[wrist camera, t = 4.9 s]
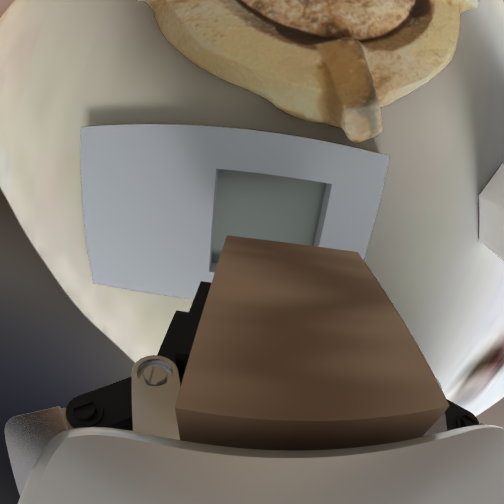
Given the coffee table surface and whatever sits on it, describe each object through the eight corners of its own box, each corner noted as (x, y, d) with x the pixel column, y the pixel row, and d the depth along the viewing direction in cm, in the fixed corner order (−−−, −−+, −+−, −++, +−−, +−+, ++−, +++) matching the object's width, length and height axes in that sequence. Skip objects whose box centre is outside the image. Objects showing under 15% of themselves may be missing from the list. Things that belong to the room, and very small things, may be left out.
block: (357, 252, 11) (449, 405, 4) (326, 348, 14) (355, 492, 6) (226, 235, 11) (174, 407, 4) (218, 339, 14) (190, 491, 6)
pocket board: (379, 153, 17) (389, 156, 16) (340, 301, 22) (345, 313, 21) (92, 125, 16) (81, 127, 15) (101, 273, 21) (93, 283, 20)
